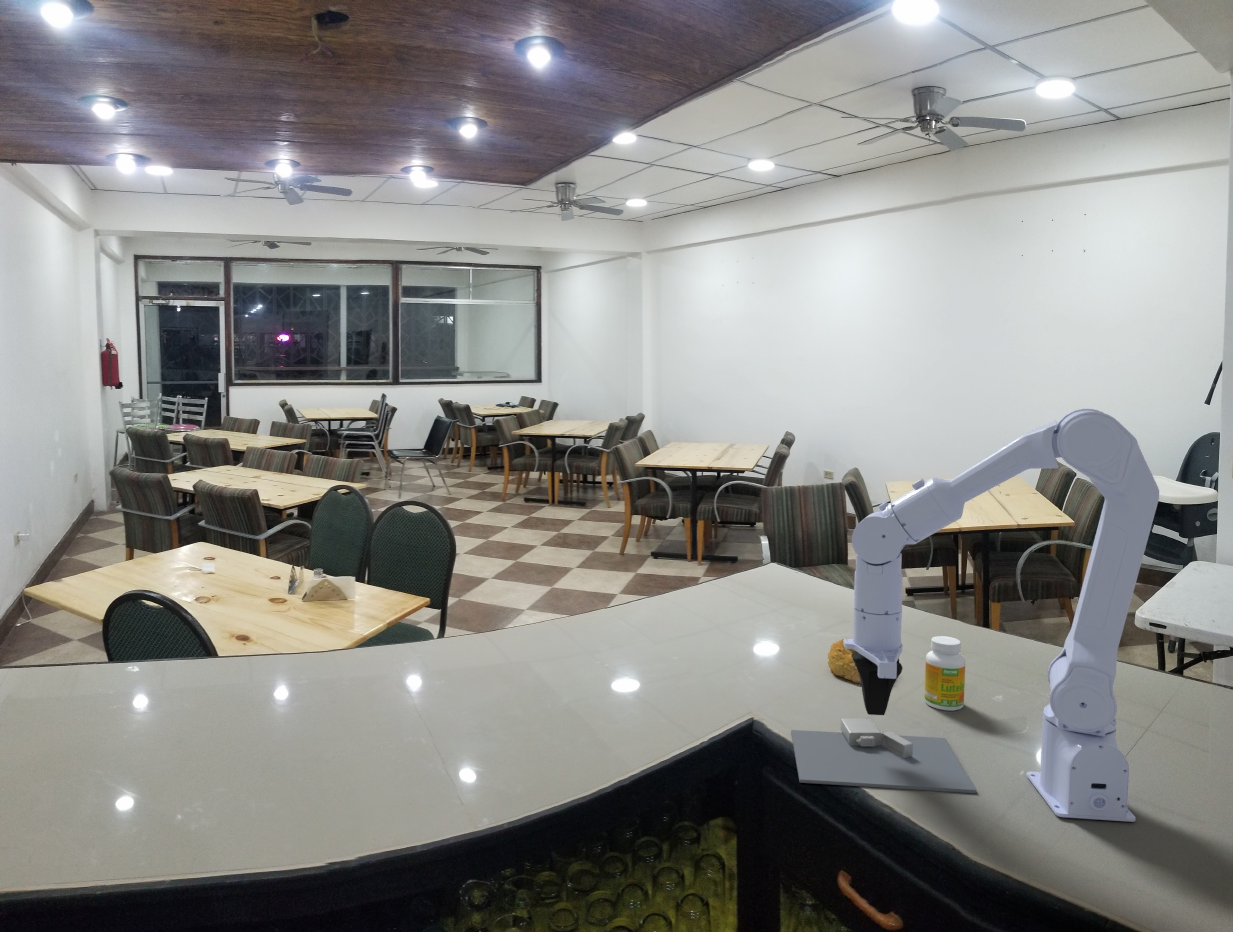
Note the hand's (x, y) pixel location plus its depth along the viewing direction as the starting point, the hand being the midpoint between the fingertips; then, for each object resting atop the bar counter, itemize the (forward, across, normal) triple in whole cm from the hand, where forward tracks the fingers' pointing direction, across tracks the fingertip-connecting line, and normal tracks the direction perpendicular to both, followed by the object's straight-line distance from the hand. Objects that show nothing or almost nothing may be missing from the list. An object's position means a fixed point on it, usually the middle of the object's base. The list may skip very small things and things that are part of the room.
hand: (875, 712), depth 100 cm
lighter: (+4, -6, 0) cm, 8 cm away
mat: (+6, +2, 0) cm, 6 cm away
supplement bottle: (+6, -18, +13) cm, 23 cm away
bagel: (+6, -30, +3) cm, 30 cm away
